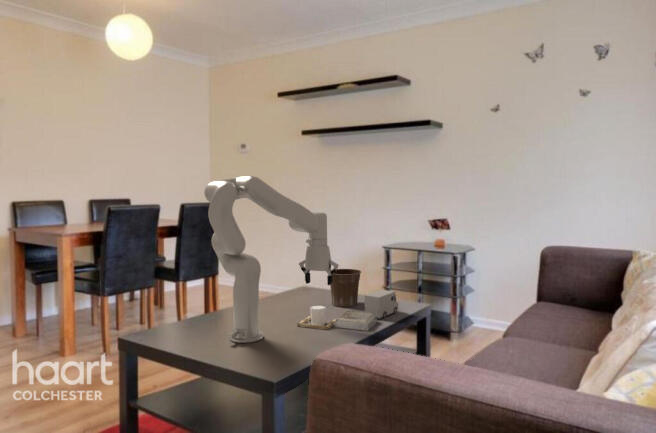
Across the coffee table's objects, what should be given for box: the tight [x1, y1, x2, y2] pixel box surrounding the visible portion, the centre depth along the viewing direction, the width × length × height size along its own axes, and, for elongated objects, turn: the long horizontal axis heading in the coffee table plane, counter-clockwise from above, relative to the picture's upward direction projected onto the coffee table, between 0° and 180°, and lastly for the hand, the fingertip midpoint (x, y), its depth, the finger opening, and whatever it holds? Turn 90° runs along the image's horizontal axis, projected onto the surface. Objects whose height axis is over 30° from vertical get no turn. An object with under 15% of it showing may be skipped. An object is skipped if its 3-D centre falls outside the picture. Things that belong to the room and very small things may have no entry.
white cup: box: [309, 305, 327, 326], centre depth 200 cm, size 7×7×7 cm
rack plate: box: [334, 310, 378, 332], centre depth 200 cm, size 14×14×4 cm
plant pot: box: [329, 268, 362, 308], centre depth 233 cm, size 16×16×16 cm
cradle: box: [296, 315, 338, 331], centre depth 200 cm, size 12×13×1 cm
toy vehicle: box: [364, 289, 399, 320], centre depth 214 cm, size 9×18×10 cm, turn 143°
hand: (318, 283), depth 200 cm, fingers open, 9 cm apart
